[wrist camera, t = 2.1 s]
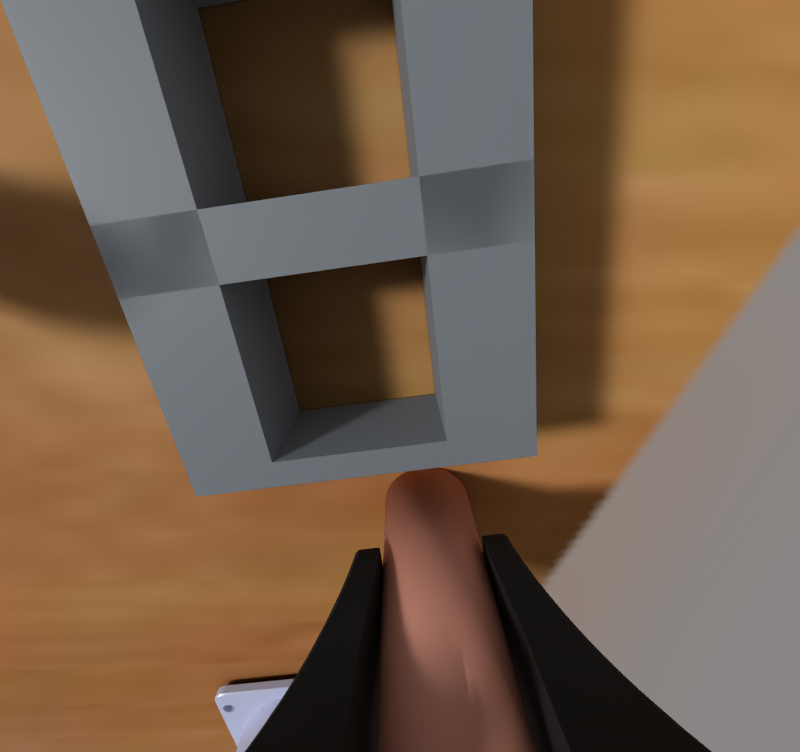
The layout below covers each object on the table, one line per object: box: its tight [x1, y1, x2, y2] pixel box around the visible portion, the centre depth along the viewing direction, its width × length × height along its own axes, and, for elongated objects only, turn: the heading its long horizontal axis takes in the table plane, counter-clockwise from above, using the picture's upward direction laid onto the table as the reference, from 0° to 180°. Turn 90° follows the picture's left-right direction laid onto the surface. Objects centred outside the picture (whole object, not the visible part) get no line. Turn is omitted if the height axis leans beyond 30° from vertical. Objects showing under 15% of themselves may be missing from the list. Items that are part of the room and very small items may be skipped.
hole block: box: [1, 0, 537, 496], centre depth 9 cm, size 12×9×3 cm
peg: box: [376, 468, 537, 752], centre depth 10 cm, size 3×3×8 cm
